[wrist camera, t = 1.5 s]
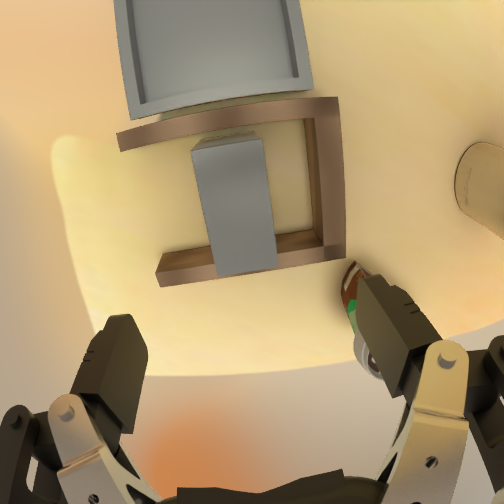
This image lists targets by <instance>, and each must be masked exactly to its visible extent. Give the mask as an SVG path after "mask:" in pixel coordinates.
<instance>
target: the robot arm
mask: <svg viewBox="0 0 504 504" xmlns="http://www.w3.org/2000/svg"><path fill="white" fill-rule="evenodd" d="M455 192H456V198H457V201H458V205H459V206H460V208H461V210H462V211H463V212H464V213H465V214H466V215H468V216H469V217H471V218H473V219H474V220H476V221H477V222H479V223H480V224H482V225H483V226H485V227H486V228H487V229H489V230H490V231H492V232H493V233H495V234H496V235H497V236H499V237H500V238H502V239H503V240H504V148H501V147H498V146H495V145H492V144H488V143H484V142H480V143H476V144H474V145H473V146H471V147H470V148H469V149H468V150H467V151H466V152H465V154H464V156H463V157H462V159H461V161H460V164H459V166H458V170H457V173H456V181H455ZM355 315H356V322H357V326H358V329H359V331H360V333H361V335H362V337H363V339H364V341H365V343H366V345H367V347H368V349H369V351H370V353H371V355H372V357H373V359H374V361H375V363H376V365H377V367H378V369H379V371H380V373H381V375H382V377H383V379H384V381H385V383H386V386H387V388H388V390H389V392H390V394H391V396H392V398H395V397H398V396H401V395H404V397H405V399H406V403H405V405H404V409H403V412H402V415H401V418H400V421H399V424H398V427H397V430H396V433H395V436H394V438H393V441H392V444H391V447H390V449H389V452H388V454H387V456H386V458H385V460H384V462H383V464H382V466H381V468H380V470H379V472H378V474H377V477H376V479H375V480H373V479H369V478H364V477H354V476H344V474H343V470H342V469H339V470H336V471H332V472H327V473H323V474H318V475H314V476H309V477H304V478H300V479H298V480H295V481H293V482H290V483H288V484H285V485H283V486H280V487H277V488H275V489H272V490H269V491H266V492H263V493H248V492H240V491H233V490H228V489H222V488H216V487H212V488H179V487H178V488H177V496H174V497H171V498H167V499H164V500H163V499H162V498H161V497H160V496H159V495H158V494H157V493H156V492H155V491H154V490H153V489H152V488H151V487H150V486H149V484H148V483H147V482H146V481H145V479H144V478H143V476H142V475H141V473H140V472H139V470H138V469H137V467H136V466H135V464H134V462H133V461H132V459H131V458H130V456H129V454H128V453H127V451H126V449H125V448H124V446H123V444H122V443H121V442H120V435H121V433H123V434H133V430H134V424H135V419H136V414H137V409H138V404H139V398H140V394H141V389H142V384H143V380H144V375H145V371H146V366H147V362H148V350H147V346H146V344H145V342H144V340H143V338H142V336H141V334H140V331H139V329H138V327H137V325H136V323H135V321H134V319H133V317H132V316H131V315H130V314H122V315H113V316H110V317H109V318H108V320H107V322H106V324H105V327H104V329H103V330H100V331H99V332H98V333H97V334H96V336H95V337H94V338H93V339H92V340H91V342H90V344H89V347H88V349H87V353H86V354H85V356H84V358H83V362H82V363H81V365H80V368H79V370H78V373H77V375H76V378H75V381H74V383H73V386H72V388H71V391H70V393H69V394H66V395H62V396H60V397H59V398H57V399H56V400H55V401H54V402H53V403H52V404H51V406H50V408H49V411H46V412H42V413H37V414H32V413H31V412H30V411H29V410H28V409H27V408H26V407H25V406H23V405H16V406H14V407H12V408H10V409H9V410H8V411H7V413H6V414H5V416H4V418H3V420H2V423H1V426H0V504H450V503H451V499H452V496H453V493H454V489H455V486H456V483H457V479H458V476H459V472H460V468H461V464H462V460H463V454H464V450H465V446H466V440H467V435H468V429H469V428H470V430H471V433H472V435H473V437H474V439H475V442H476V444H477V446H478V449H479V451H480V454H481V456H482V459H483V461H484V464H485V466H486V469H487V471H488V474H489V477H490V480H491V482H492V485H493V488H494V491H495V496H494V498H493V500H492V503H491V504H504V405H503V404H502V402H501V400H500V396H502V397H503V399H504V335H501V336H497V337H495V338H494V339H493V340H492V341H491V343H490V345H489V347H488V349H485V350H475V351H465V349H464V348H463V347H462V346H461V345H460V344H458V343H456V342H454V341H450V340H443V339H442V338H441V336H440V335H439V334H438V332H437V331H436V330H435V328H434V327H433V325H432V324H431V323H430V321H429V320H428V319H427V317H426V316H425V315H424V314H423V312H421V311H420V308H419V307H418V306H417V304H415V303H414V301H413V299H412V298H411V297H410V296H409V294H408V293H407V292H406V291H404V290H402V289H401V288H399V287H397V286H396V285H394V286H389V284H388V283H387V282H386V280H385V279H384V278H383V277H382V275H380V274H377V275H372V276H368V277H363V278H359V280H358V286H357V300H356V312H355ZM463 415H464V417H465V418H464V417H463ZM31 456H32V457H33V458H35V459H36V460H37V461H38V467H37V472H36V476H35V481H34V486H33V491H32V492H31V491H30V490H29V489H28V487H27V484H26V477H27V473H28V468H29V464H30V460H31Z"/></svg>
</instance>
